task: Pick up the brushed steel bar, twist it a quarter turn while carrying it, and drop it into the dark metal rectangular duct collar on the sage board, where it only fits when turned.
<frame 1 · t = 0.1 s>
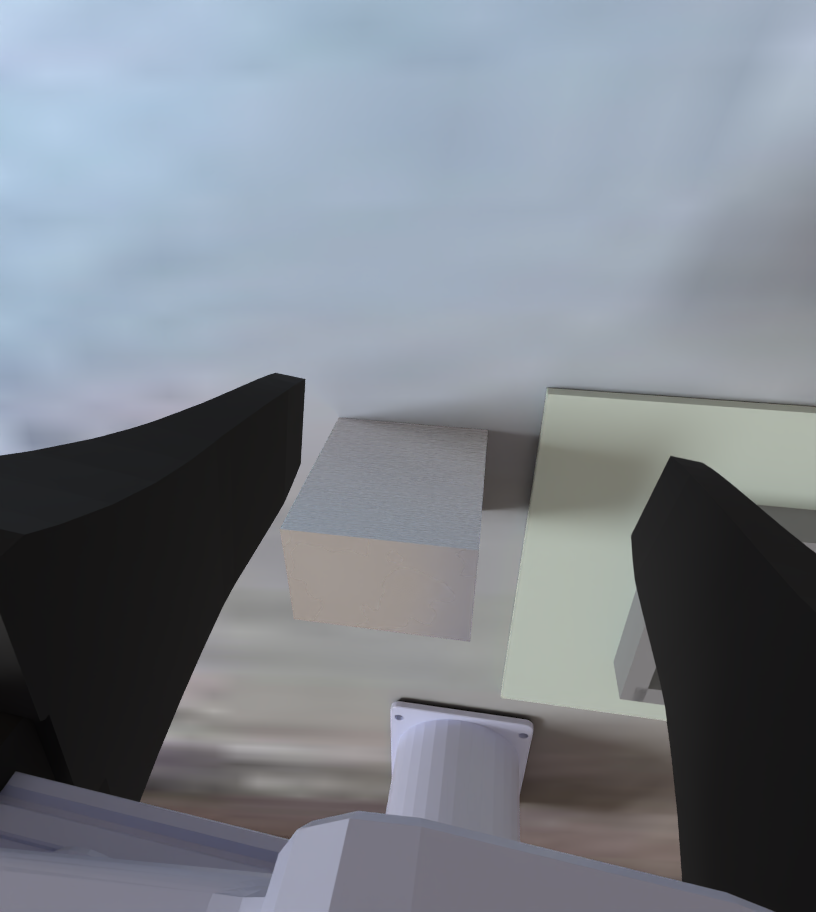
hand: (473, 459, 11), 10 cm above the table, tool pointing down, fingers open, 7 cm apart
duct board: (730, 590, 25), on the table
brushed steel bar: (411, 465, 24), on the table
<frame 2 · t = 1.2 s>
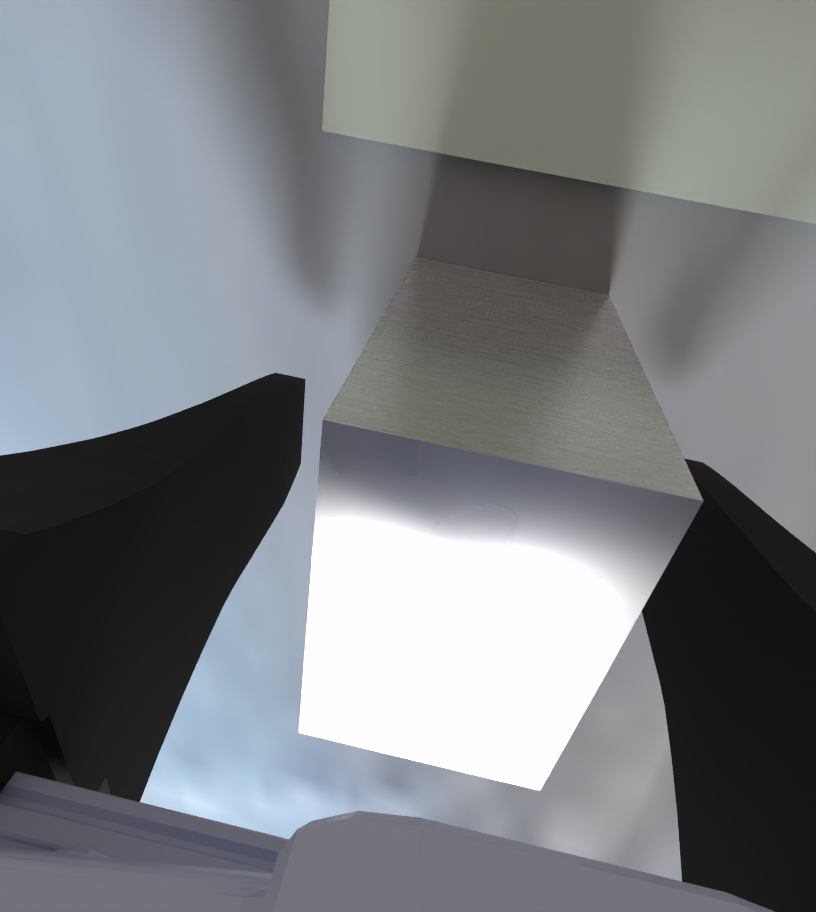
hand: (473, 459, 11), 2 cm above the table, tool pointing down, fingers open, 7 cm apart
brushed steel bar: (479, 402, 13), on the table
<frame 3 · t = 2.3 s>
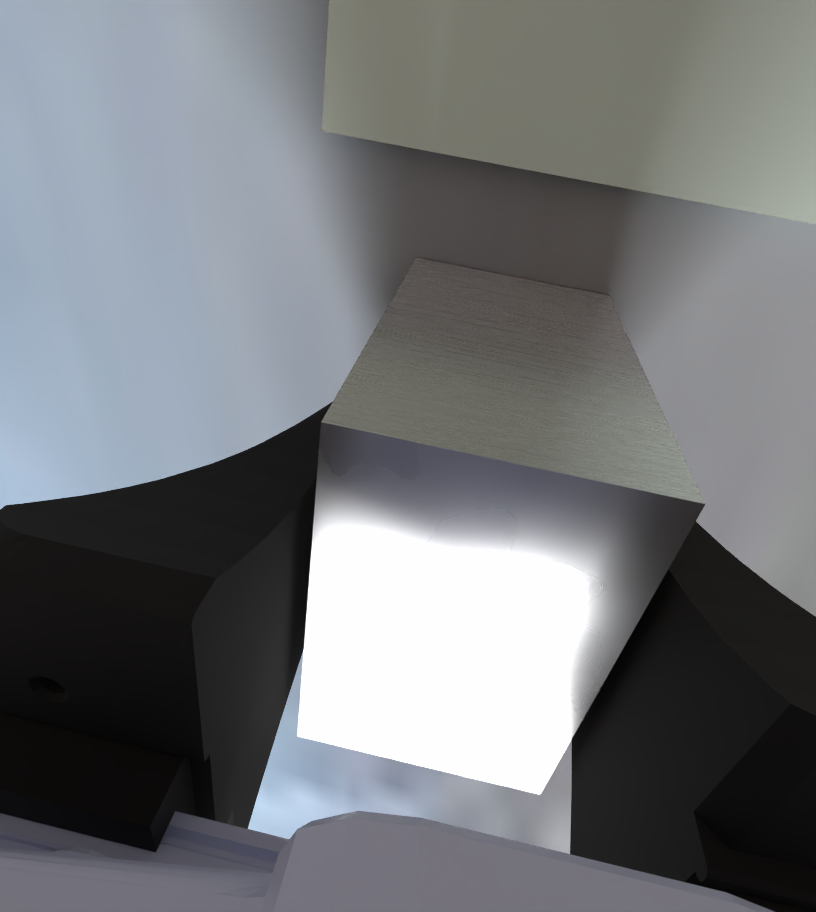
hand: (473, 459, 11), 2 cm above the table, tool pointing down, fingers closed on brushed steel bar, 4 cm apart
brushed steel bar: (479, 403, 13), on the table, touching gripper
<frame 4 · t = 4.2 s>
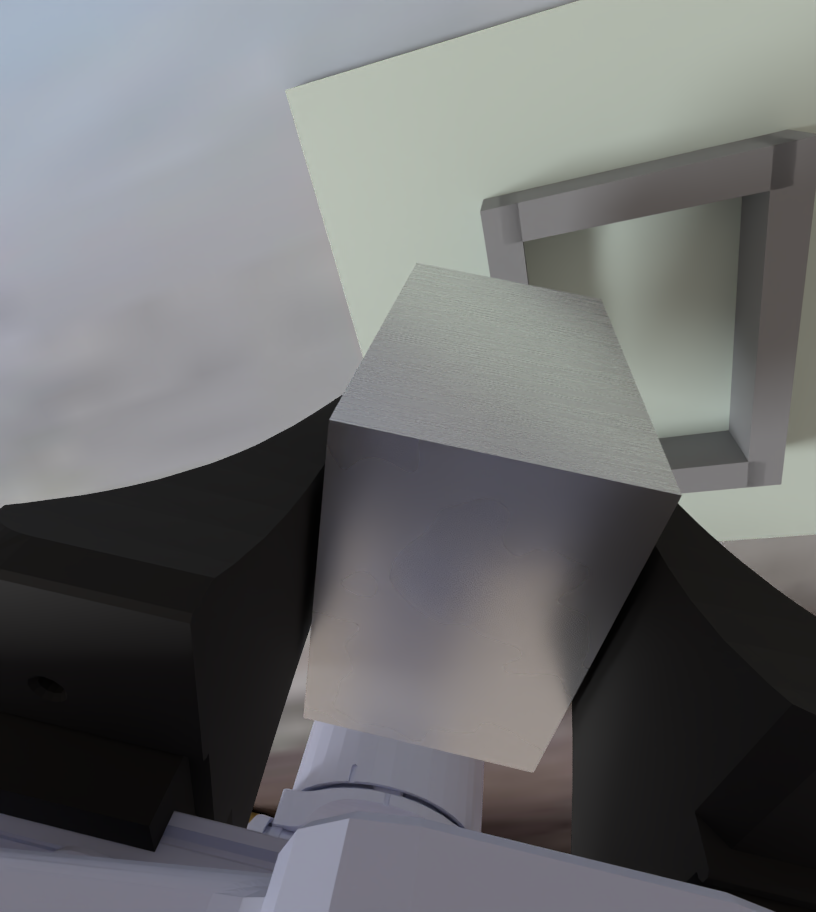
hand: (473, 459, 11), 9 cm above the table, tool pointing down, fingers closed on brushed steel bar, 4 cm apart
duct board: (629, 330, 19), on the table
brushed steel bar: (477, 402, 14), point 7 cm above the table, touching gripper
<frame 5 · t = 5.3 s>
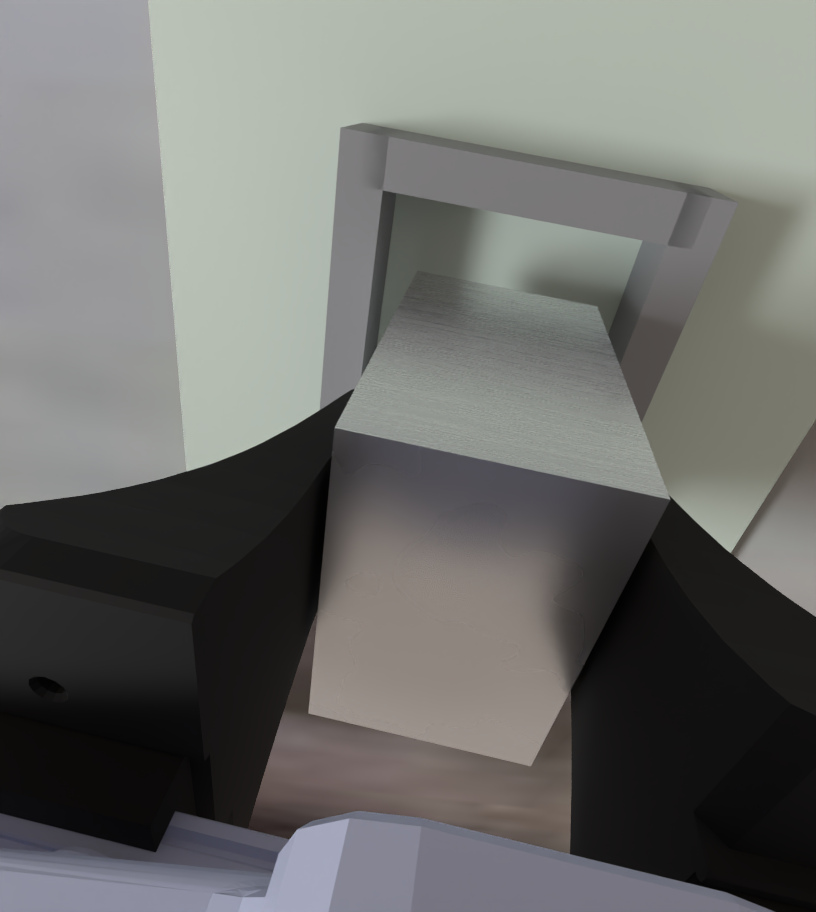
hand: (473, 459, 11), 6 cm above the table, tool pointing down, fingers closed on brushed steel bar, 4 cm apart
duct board: (485, 349, 16), on the table
brushed steel bar: (476, 406, 14), point 3 cm above the table, touching gripper
when the fingers open (5 cm above the table, at t = 6.2 s): brushed steel bar drops 2 cm, resting on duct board.
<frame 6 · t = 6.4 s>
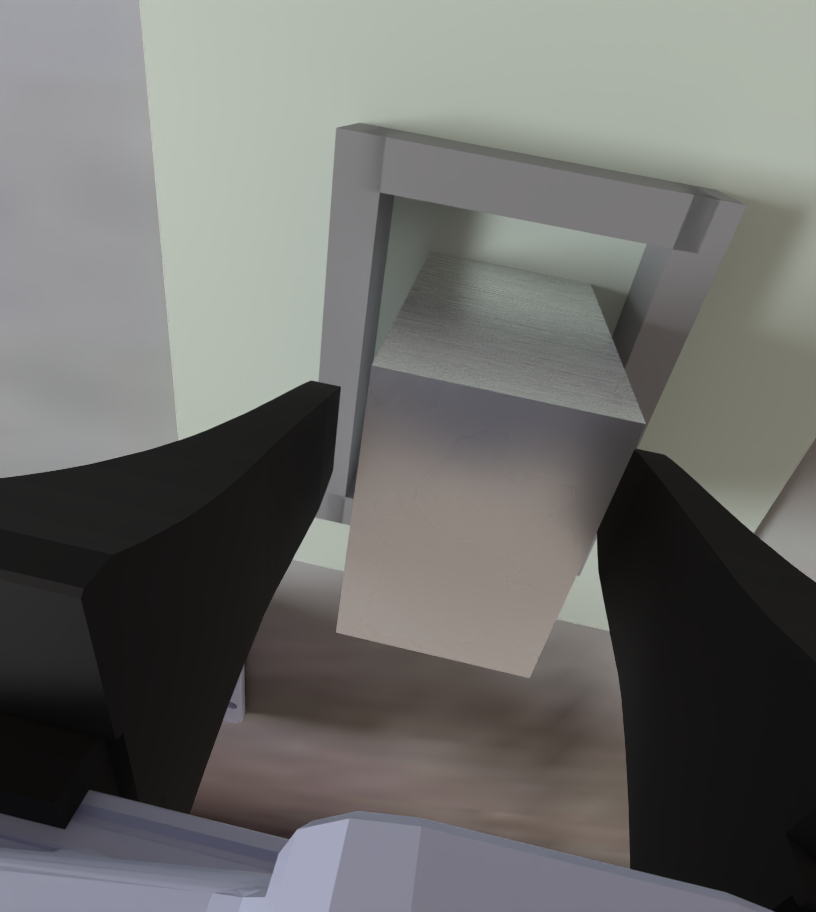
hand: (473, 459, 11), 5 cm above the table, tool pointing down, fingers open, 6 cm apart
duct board: (485, 354, 16), on the table
brushed steel bar: (481, 376, 16), resting on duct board
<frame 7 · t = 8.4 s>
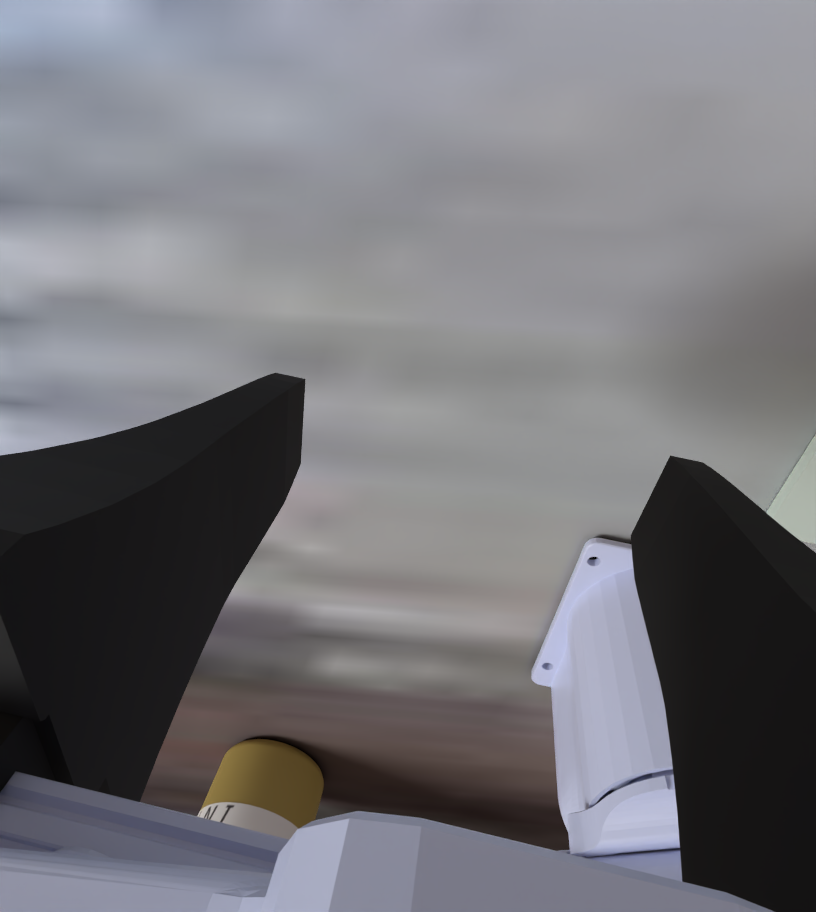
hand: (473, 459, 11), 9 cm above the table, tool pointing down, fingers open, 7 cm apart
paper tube: (278, 760, 38), on the table
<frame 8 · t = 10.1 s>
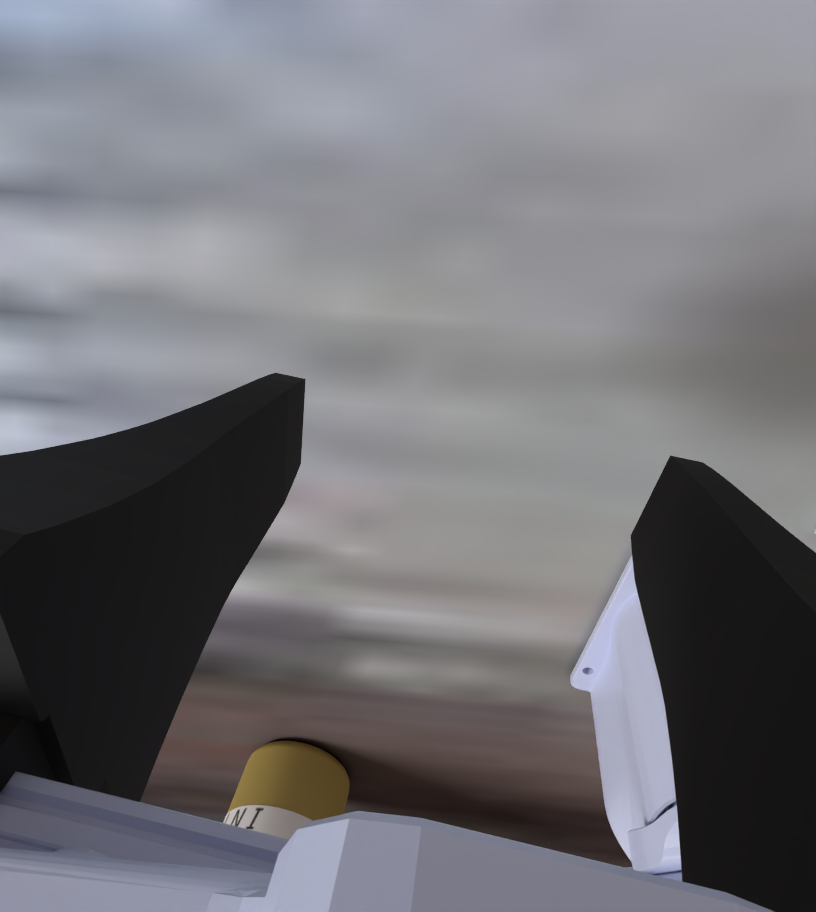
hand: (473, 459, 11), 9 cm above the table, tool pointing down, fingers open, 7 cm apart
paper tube: (302, 762, 37), on the table
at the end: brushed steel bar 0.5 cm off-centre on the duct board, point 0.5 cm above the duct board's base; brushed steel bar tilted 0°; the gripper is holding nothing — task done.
